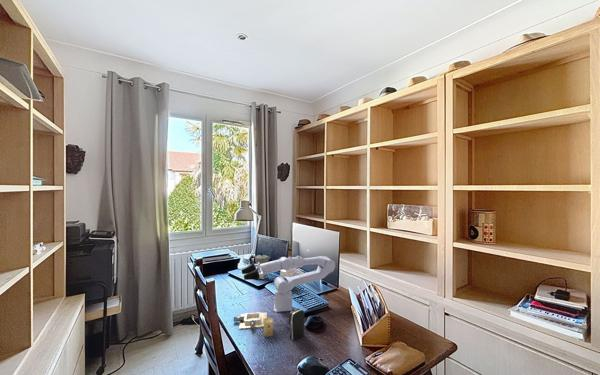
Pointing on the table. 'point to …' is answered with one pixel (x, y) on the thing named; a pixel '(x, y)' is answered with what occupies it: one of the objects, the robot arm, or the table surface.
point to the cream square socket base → (251, 320)
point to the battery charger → (296, 323)
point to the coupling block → (268, 327)
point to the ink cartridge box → (286, 273)
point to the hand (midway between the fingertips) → (242, 274)
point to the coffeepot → (260, 261)
